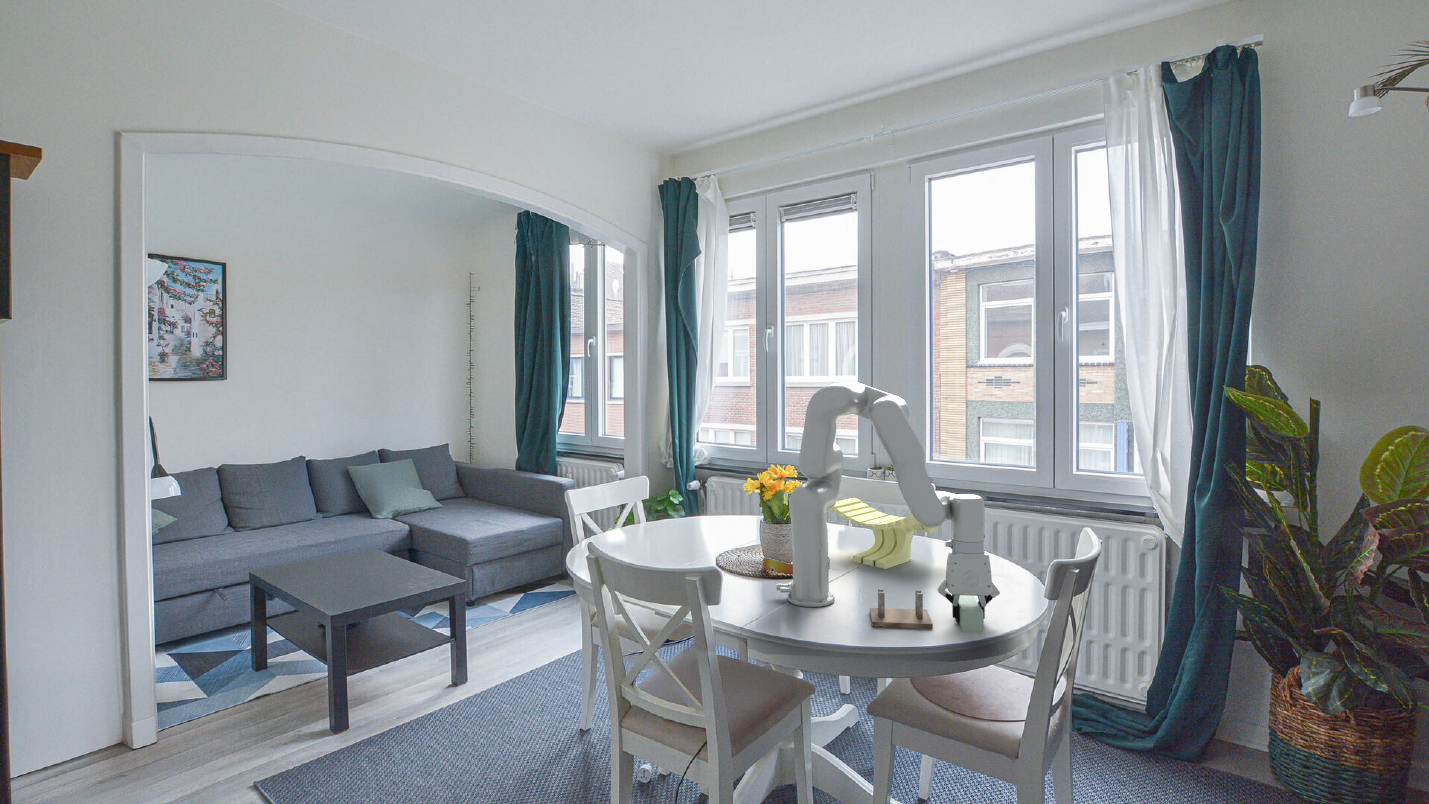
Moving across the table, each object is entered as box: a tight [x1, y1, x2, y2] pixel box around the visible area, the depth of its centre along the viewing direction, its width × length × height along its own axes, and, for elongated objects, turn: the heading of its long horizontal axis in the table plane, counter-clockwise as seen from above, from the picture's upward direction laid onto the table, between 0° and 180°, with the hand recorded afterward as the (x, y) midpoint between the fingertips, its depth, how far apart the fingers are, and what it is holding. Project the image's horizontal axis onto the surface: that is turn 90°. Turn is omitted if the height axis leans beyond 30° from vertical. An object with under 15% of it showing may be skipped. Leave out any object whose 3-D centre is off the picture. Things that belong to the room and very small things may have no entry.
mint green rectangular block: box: [958, 595, 985, 633], centre depth 171 cm, size 4×12×5 cm, turn 171°
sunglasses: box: [762, 556, 793, 574], centre depth 220 cm, size 14×15×5 cm
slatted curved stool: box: [829, 497, 939, 570], centre depth 228 cm, size 30×16×18 cm, turn 42°
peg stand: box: [869, 588, 934, 630], centre depth 174 cm, size 14×10×7 cm
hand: (968, 620), depth 171 cm, fingers closed on mint green rectangular block, 4 cm apart
